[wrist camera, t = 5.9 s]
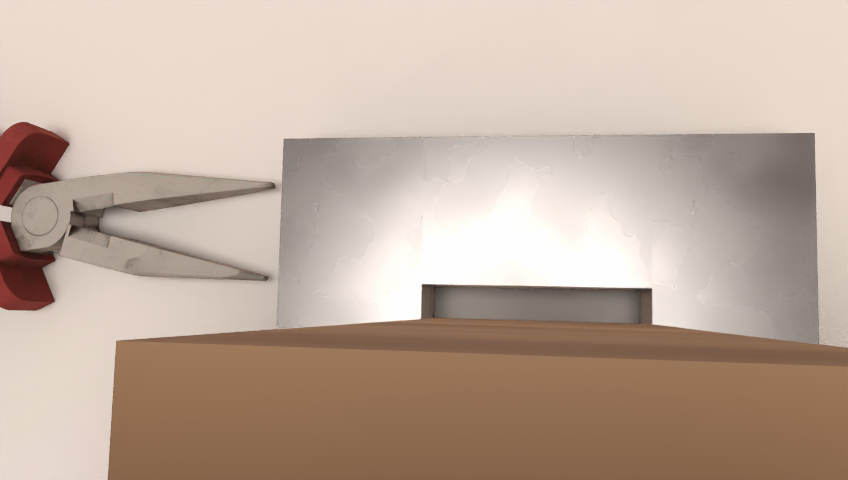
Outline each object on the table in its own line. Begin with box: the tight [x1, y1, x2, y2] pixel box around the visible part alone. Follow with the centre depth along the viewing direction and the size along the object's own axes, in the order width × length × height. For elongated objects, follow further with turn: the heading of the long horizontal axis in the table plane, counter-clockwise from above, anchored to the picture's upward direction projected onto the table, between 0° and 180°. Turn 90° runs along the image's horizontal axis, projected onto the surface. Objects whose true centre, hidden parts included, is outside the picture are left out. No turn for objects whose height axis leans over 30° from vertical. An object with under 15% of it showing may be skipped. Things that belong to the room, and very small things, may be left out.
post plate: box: [277, 133, 819, 345], centre depth 21 cm, size 14×14×2 cm
